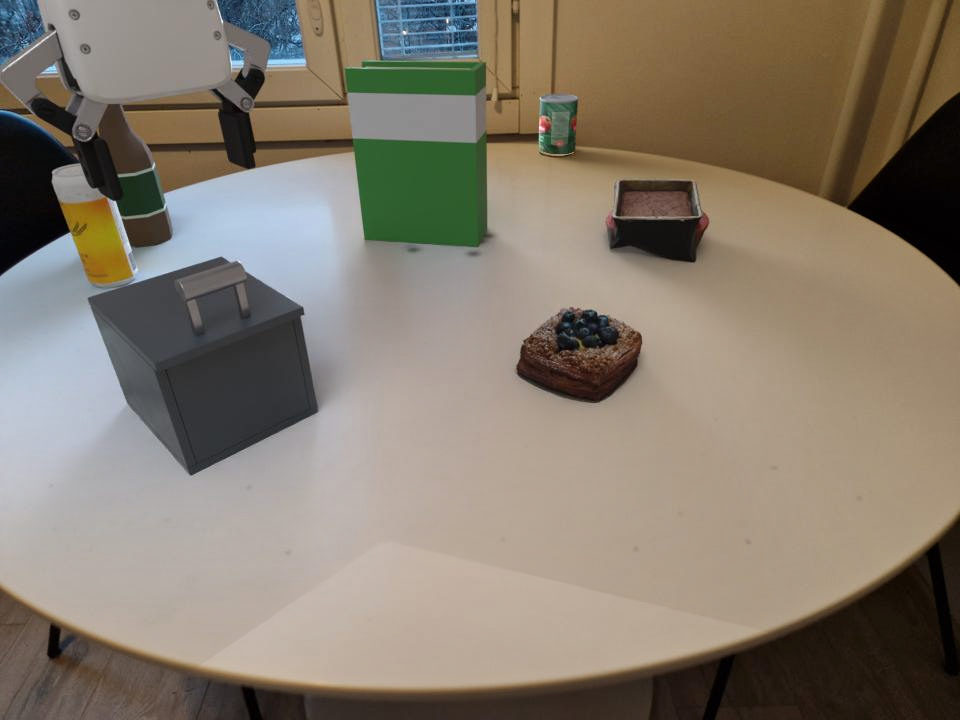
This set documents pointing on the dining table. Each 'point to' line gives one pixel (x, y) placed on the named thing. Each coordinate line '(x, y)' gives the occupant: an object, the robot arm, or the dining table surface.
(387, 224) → the green cereal box
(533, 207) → the dining table surface
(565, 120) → the canned tomato
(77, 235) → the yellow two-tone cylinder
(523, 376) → the pastry
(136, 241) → the beer bottle
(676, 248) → the baking dish
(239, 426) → the black box
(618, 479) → the dining table surface
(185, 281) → the box lid
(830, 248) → the dining table surface
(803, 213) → the dining table surface
